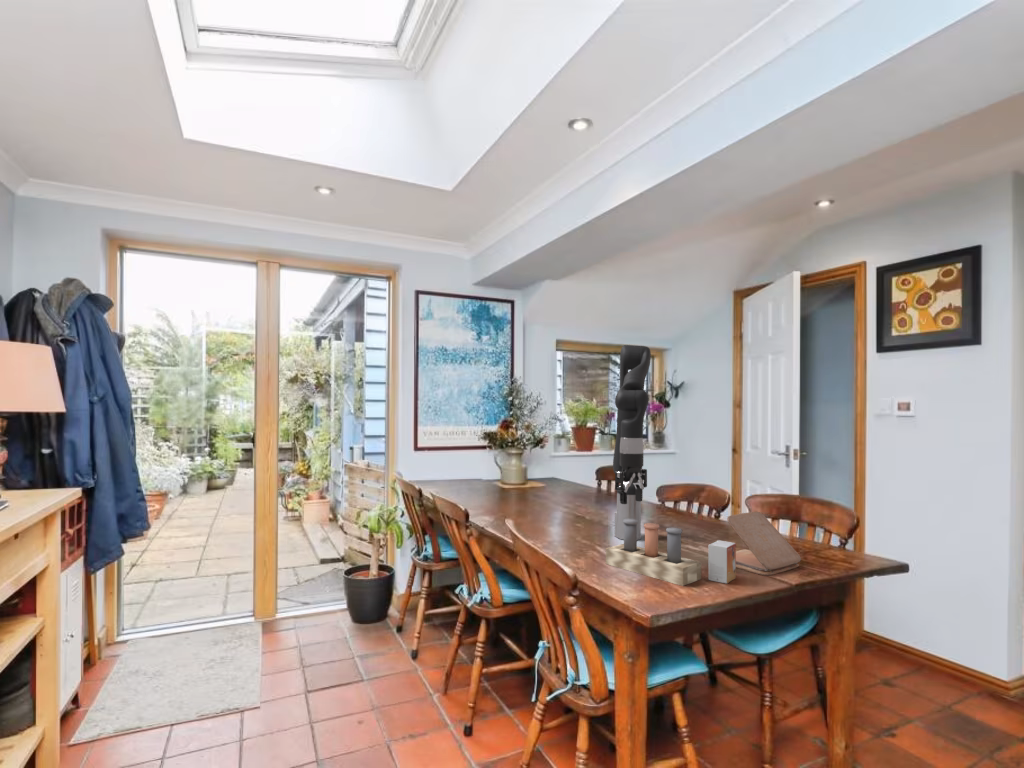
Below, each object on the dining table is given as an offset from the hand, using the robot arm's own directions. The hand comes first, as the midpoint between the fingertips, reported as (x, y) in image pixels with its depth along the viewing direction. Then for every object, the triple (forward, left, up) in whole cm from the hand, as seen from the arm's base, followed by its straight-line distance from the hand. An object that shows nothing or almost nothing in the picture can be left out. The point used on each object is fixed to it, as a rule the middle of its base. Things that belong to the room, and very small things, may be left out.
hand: (631, 502), depth 178 cm
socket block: (+8, 0, -20) cm, 22 cm away
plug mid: (+8, 0, -16) cm, 17 cm away
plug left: (0, 0, -16) cm, 16 cm away
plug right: (+16, 0, -16) cm, 22 cm away
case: (+25, +34, -21) cm, 47 cm away
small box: (+26, +10, -20) cm, 34 cm away
